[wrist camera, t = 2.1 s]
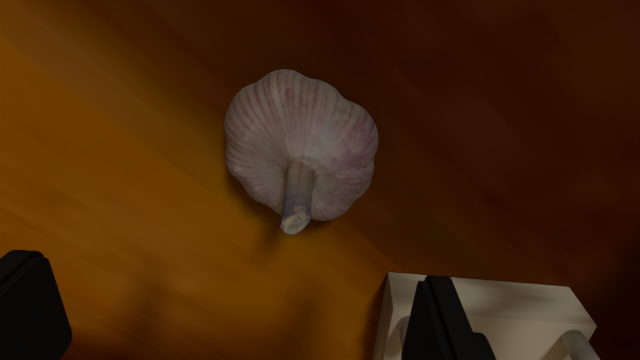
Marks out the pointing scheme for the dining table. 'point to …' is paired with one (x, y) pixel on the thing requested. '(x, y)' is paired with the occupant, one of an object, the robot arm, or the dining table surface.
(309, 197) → the garlic bulb
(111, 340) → the dining table surface
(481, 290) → the peg rest
